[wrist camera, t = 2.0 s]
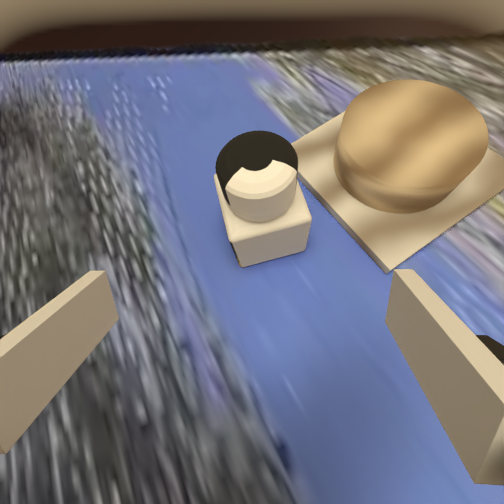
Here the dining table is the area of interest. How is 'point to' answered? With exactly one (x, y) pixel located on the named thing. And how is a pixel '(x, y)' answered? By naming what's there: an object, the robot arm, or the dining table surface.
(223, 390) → the dining table surface
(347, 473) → the dining table surface
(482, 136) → the post stand
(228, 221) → the medicine bottle
